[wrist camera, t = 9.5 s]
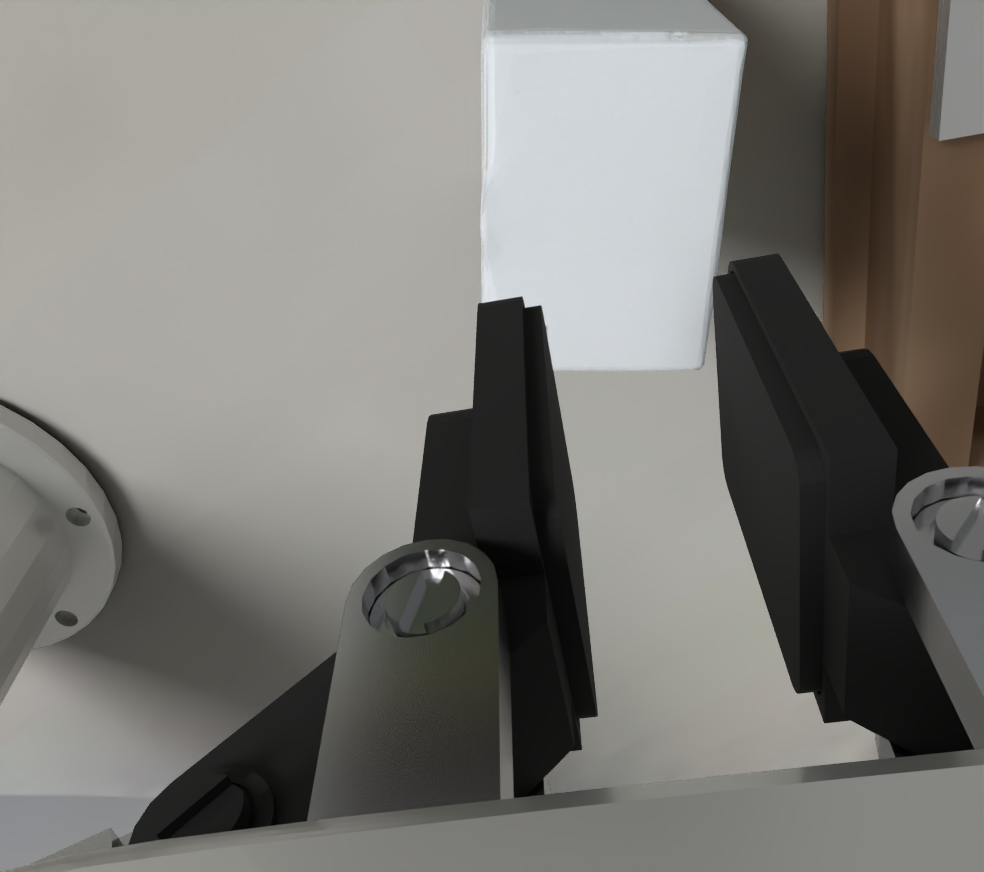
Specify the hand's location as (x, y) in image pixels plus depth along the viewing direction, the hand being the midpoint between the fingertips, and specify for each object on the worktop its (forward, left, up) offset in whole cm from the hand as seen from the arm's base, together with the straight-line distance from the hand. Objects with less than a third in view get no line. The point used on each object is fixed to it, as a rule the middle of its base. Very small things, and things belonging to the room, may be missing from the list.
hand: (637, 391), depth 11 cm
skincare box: (0, 0, -17) cm, 17 cm away
